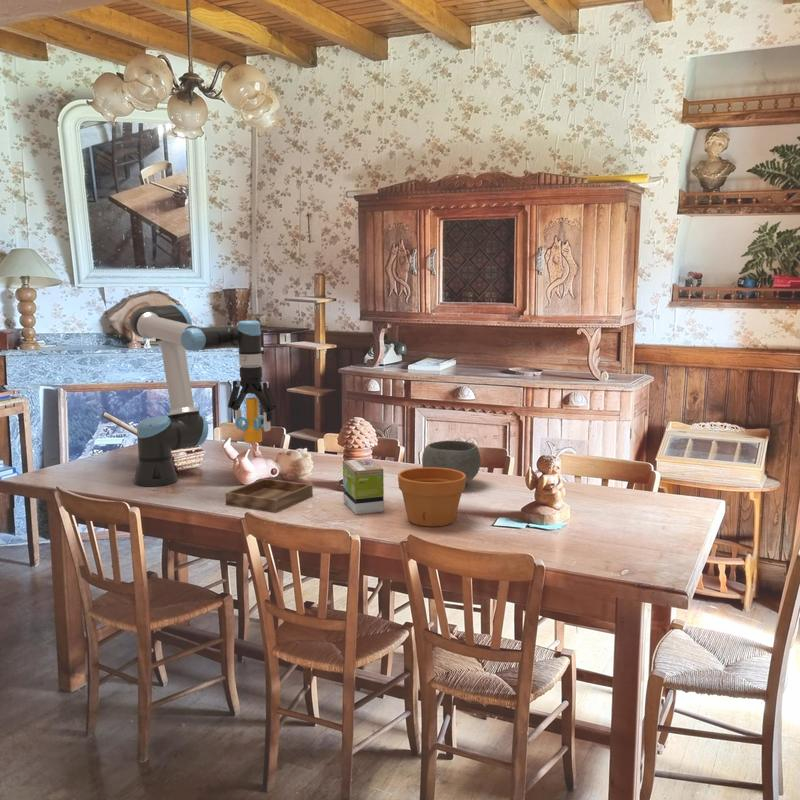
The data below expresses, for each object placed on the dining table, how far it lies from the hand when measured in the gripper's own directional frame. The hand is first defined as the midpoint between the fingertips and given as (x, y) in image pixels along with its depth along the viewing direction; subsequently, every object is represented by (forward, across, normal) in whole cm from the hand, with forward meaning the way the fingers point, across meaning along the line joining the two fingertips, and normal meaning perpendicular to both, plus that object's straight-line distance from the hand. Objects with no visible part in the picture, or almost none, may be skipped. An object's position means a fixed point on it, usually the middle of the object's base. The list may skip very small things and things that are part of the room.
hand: (253, 429), depth 287 cm
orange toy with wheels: (+4, 0, 0) cm, 4 cm away
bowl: (+24, +56, +42) cm, 74 cm away
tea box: (+24, +41, +3) cm, 47 cm away
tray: (+23, +9, -4) cm, 25 cm away
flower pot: (+24, +67, 0) cm, 71 cm away
